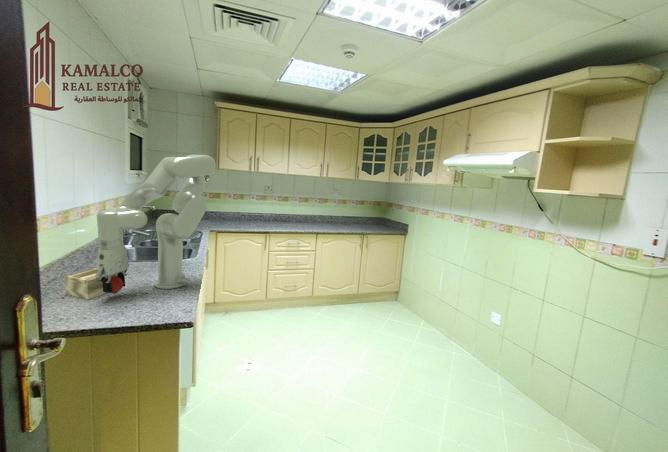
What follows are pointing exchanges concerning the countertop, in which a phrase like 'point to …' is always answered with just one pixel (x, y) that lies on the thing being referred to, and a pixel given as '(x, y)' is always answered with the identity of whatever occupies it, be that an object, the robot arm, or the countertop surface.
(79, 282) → the birch box
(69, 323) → the countertop surface
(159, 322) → the countertop surface
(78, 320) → the countertop surface
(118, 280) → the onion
